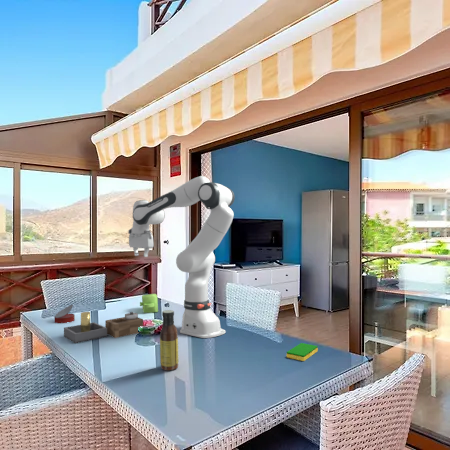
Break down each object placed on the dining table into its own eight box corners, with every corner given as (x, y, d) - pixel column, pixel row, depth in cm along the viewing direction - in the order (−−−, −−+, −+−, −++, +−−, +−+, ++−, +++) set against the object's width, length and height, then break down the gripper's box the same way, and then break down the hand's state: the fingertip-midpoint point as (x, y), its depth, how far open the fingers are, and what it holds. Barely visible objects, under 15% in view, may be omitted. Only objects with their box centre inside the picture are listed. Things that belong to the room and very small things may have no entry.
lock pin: (91, 335, 163) (91, 312, 163) (82, 336, 160) (82, 314, 160) (88, 333, 166) (88, 311, 166) (79, 334, 163) (79, 312, 163)
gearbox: (139, 309, 222) (138, 293, 223) (155, 307, 225) (155, 292, 225) (141, 315, 205) (140, 298, 205) (158, 313, 208) (157, 296, 208)
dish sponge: (286, 358, 136) (286, 351, 136) (301, 348, 147) (301, 342, 147) (303, 362, 132) (303, 355, 132) (318, 351, 143) (318, 345, 143)
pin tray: (106, 336, 162) (106, 328, 162) (75, 343, 153) (75, 334, 153) (94, 330, 173) (94, 322, 173) (63, 336, 163) (63, 327, 163)
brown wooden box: (143, 331, 170) (143, 312, 170) (115, 337, 161) (115, 317, 161) (132, 327, 178) (132, 309, 178) (105, 333, 168) (105, 313, 168)
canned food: (70, 331, 188) (68, 316, 184) (51, 329, 189) (48, 314, 184) (79, 316, 199) (77, 302, 194) (61, 314, 199) (59, 300, 194)
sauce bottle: (170, 363, 130) (170, 308, 130) (182, 367, 126) (182, 310, 126) (156, 368, 125) (155, 311, 125) (168, 373, 121) (168, 313, 121)
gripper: (156, 230, 188) (156, 257, 188) (137, 230, 203) (137, 255, 203) (145, 230, 184) (145, 257, 184) (126, 230, 199) (126, 255, 199)
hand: (141, 256), depth 193 cm, fingers open, 8 cm apart
